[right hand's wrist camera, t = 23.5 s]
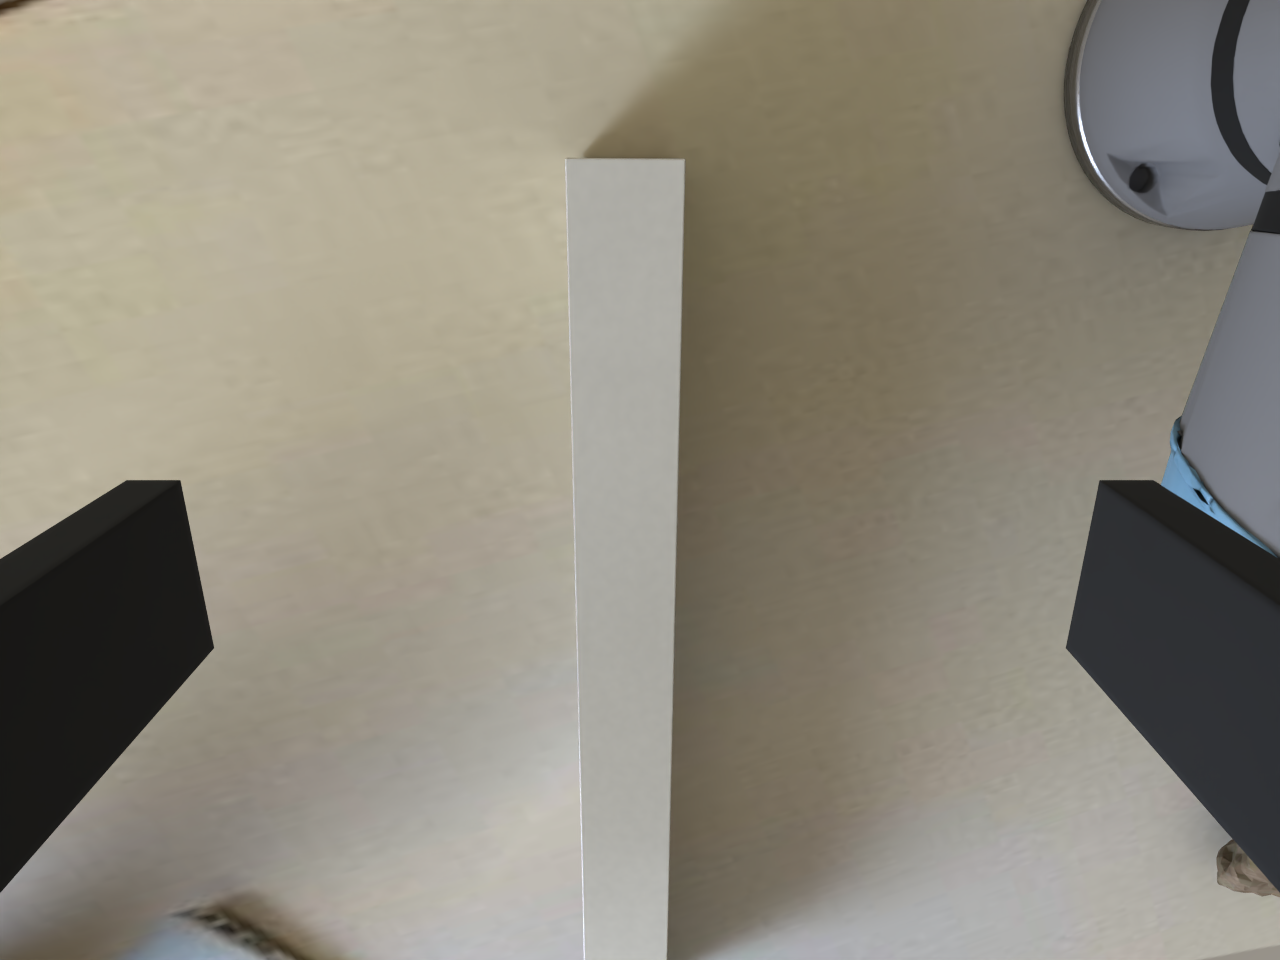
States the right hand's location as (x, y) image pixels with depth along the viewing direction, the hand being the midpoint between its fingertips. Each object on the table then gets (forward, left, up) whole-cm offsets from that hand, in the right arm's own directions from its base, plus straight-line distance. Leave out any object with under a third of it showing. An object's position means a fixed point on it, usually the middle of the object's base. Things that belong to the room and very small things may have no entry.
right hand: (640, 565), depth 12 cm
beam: (+3, +22, -35) cm, 41 cm away
